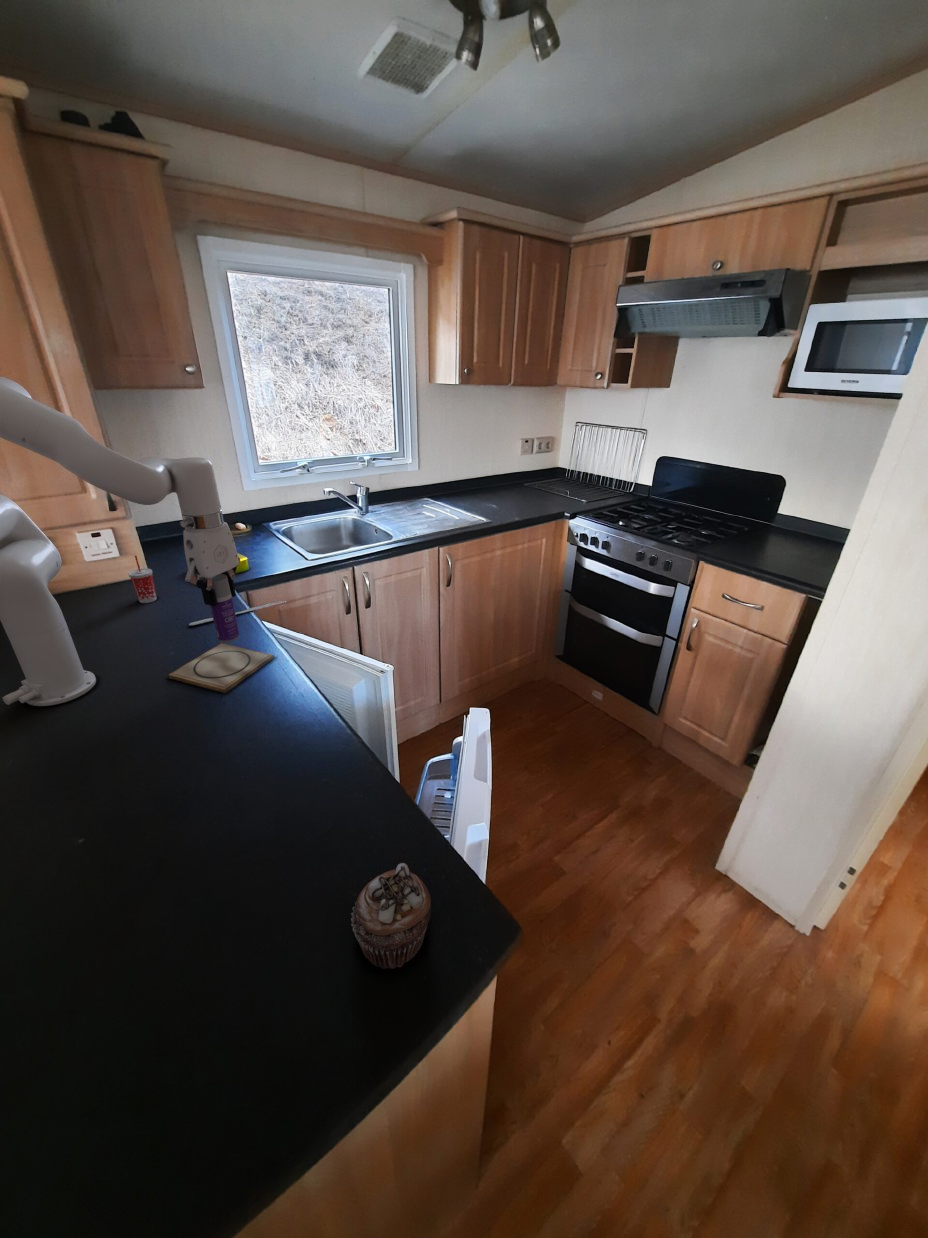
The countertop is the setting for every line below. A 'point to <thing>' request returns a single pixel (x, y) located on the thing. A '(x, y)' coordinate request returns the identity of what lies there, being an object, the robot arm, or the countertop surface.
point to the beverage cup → (143, 584)
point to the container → (224, 610)
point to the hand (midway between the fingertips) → (220, 599)
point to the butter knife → (236, 613)
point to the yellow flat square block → (242, 564)
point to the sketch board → (221, 667)
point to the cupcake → (392, 917)
